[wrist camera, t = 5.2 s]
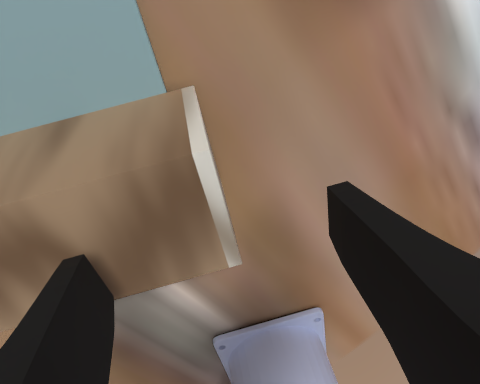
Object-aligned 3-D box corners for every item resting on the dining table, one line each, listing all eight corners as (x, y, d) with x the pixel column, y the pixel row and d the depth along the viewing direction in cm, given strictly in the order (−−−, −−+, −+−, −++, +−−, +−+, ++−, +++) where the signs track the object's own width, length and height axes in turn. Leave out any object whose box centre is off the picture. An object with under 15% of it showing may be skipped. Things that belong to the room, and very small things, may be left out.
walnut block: (242, 263, 13) (-1, 332, 13) (221, 185, 17) (36, 235, 17) (209, 149, 10) (-115, 236, 10) (193, 85, 14) (-36, 145, 13)
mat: (223, 260, 20) (224, 264, 20) (-51, 337, 20) (-54, 342, 20) (107, -85, 11) (106, -85, 10) (-446, 50, 10) (-462, 53, 10)
